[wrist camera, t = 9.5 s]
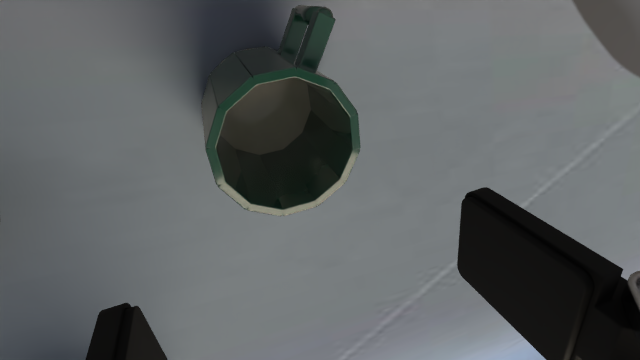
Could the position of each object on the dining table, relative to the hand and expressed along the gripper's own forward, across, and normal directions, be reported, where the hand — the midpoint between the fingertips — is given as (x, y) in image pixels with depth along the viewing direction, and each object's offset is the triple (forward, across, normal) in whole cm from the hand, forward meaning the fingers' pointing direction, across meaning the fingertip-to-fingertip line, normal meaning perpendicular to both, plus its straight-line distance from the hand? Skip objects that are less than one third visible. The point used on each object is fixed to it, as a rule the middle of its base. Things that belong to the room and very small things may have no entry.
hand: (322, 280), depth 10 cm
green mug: (+16, -2, -2) cm, 16 cm away
